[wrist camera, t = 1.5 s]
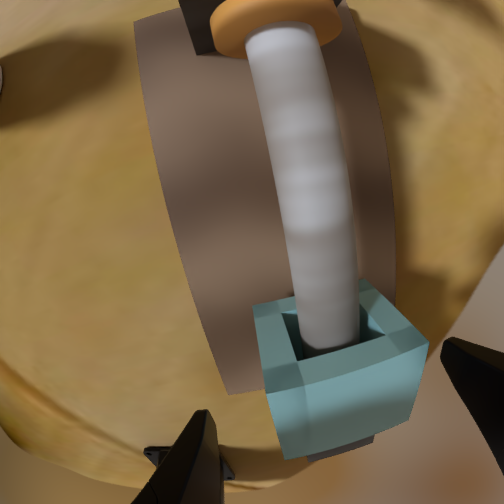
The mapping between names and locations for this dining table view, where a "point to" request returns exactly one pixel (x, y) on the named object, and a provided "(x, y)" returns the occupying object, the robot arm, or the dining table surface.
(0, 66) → the supplement bottle
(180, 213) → the rod stand
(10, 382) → the dining table surface
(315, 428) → the sleeve
